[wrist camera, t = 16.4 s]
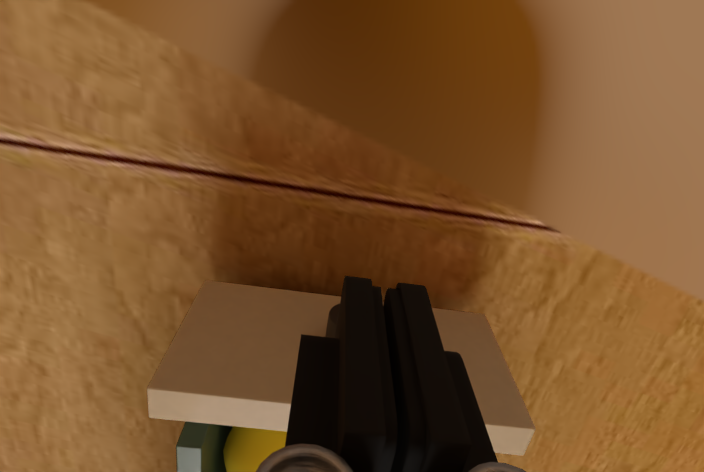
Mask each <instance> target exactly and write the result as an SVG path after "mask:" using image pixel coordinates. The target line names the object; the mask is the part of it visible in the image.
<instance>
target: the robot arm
mask: <svg viewBox="0 0 704 472" xmlns="http://www.w3.org/2000/svg"><path fill="white" fill-rule="evenodd" d="M256 472H525V471H524V470H522V469H520V468H517V467H514V466H512V465H509V464H506V463H498V461H497V458H496V455H495V452H494V450H493V447H492V444H491V441H490V438H489V435H488V432H487V429H486V426H485V423H484V420H483V417H482V414H481V411H480V408H479V406H478V403H477V400H476V397H475V394H474V391H473V388H472V385H471V382H470V379H469V376H468V373H467V370H466V367H465V364H464V362H463V359H462V357H461V355H460V354H459V353H458V352H452V351H444V348H443V344H442V341H441V337H440V334H439V331H438V327H437V324H436V320H435V317H434V314H433V310H432V307H431V303H430V300H429V297H428V293H427V290H426V287H425V286H422V285H414V284H406V283H398V284H397V286H396V289H391V288H388V289H387V291H386V295H385V299H384V304H383V301H382V294H381V287H375V286H372V281H371V279H366V278H358V277H350V276H345V278H344V283H343V289H342V295H341V301H340V307H339V313H338V319H337V326H336V332H335V338H330V337H321V336H312V335H303V334H301V339H300V346H299V352H298V359H297V366H296V373H295V380H294V387H293V394H292V401H291V407H290V414H289V421H288V428H287V435H286V442H285V447H283V448H281V449H279V450H277V451H275V452H273V453H271V454H270V455H269V456H268V457H267V458H266V459H265V460H264V461H263V462H261V463H260V465H259V467H258V469H257V470H256Z"/></svg>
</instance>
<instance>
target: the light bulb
mask: <svg viewBox="0 0 704 472" xmlns="http://www.w3.org/2000/svg"><path fill="white" fill-rule="evenodd" d="M286 435H287V432H286V431H276V430H266V429H256V428H246V427H236V426H233V427H232V429H231V431H230V433H229V435H228V437H227V439H226V443H225V446H224V450H223V454H224V463H225V467H226V471H227V472H256V470H257V469H258V467H259V465H260V463H261V462H263V461H264V460H265V459H266V458H267V457H268V456H269V455H270V454H271V453H273V452H275V451H277V450H279V449H281V448H283V447H285V442H286Z"/></svg>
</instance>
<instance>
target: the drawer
mask: <svg viewBox="0 0 704 472" xmlns="http://www.w3.org/2000/svg"><path fill="white" fill-rule="evenodd" d="M340 301H341V297H340V296H332V295H323V294H315V293H307V292H299V291H291V290H283V289H275V288H266V287H258V286H250V285H242V284H234V283H226V282H217V281H209V280H205V281H204V283H203V284H202V286H201V288H200V290H199V292H198V294H197V296H196V297H195V299H194V301H193V303H192V305H191V307H190V309H189V311H188V312H187V314H186V316H185V318H184V320H183V322H182V324H181V325H180V327H179V329H178V331H177V333H176V335H175V337H174V338H173V340H172V342H171V344H170V346H169V348H168V350H167V352H166V353H165V355H164V357H163V359H162V361H161V363H160V365H159V366H158V368H157V370H156V372H155V374H154V376H153V378H152V380H151V381H150V383H149V385H148V387H147V396H148V412H149V417H150V418H157V419H167V420H177V421H186V422H185V425H184V427H183V430H182V432H181V435H180V437H179V440H178V442H177V445H176V458H177V472H227V471H226V467H225V463H224V454H223V450H224V446H225V443H226V439H227V437H228V435H229V433H230V431H231V429H232V427H233V426H236V427H246V428H256V429H266V430H276V431H286V432H287V428H288V421H289V414H290V407H291V401H292V394H293V387H294V380H295V373H296V366H297V359H298V352H299V346H300V339H301V334H303V335H312V336H321V337H330V338H335V332H336V326H337V319H338V313H339V307H340ZM383 304H384V302H383ZM432 310H433V314H434V317H435V320H436V324H437V327H438V331H439V334H440V337H441V341H442V344H443V348H444V351H452V352H458V353H459V354H460V355H461V357H462V359H463V362H464V364H465V367H466V370H467V373H468V376H469V379H470V382H471V385H472V388H473V391H474V394H475V397H476V400H477V403H478V406H479V408H480V411H481V414H482V417H483V420H484V423H485V426H486V429H487V432H488V435H489V438H490V441H491V444H492V447H493V450H494V452H495V453H503V454H513V455H524V453H525V451H526V449H527V447H528V445H529V442H530V440H531V438H532V436H533V434H534V431H535V426H534V424H533V422H532V420H531V417H530V415H529V413H528V411H527V408H526V406H525V404H524V402H523V399H522V397H521V395H520V393H519V390H518V388H517V386H516V384H515V381H514V379H513V377H512V375H511V372H510V370H509V368H508V366H507V363H506V361H505V359H504V357H503V354H502V352H501V350H500V348H499V345H498V343H497V341H496V339H495V336H494V334H493V332H492V330H491V327H490V325H489V323H488V321H487V318H486V316H485V315H484V314H478V313H470V312H462V311H454V310H446V309H438V308H432Z"/></svg>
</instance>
